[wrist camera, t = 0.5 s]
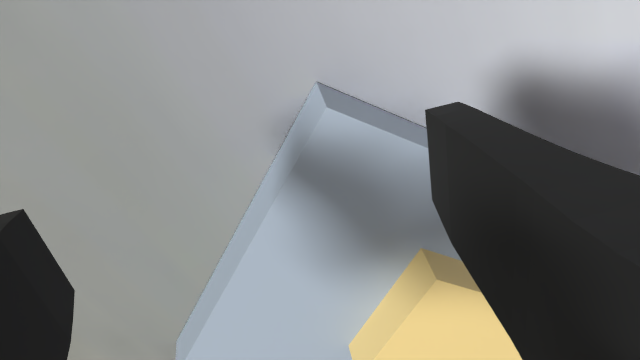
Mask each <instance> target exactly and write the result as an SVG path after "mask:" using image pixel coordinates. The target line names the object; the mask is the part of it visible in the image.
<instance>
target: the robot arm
mask: <svg viewBox="0 0 640 360" xmlns="http://www.w3.org/2000/svg"><path fill="white" fill-rule="evenodd" d="M425 113H426V126H427V139H428V153H429V166H430V180H431V193H432V201H433V203H434V206H435V208H436V210H437V212H438V215H439V217H440V219H441V222H442V224H443V226H444V228H445V231H446V233H447V235H448V237H449V239H450V241H451V244H452V245H453V247H454V249H455V250H456V252H457V254H458V255H459V257H460V258H461V260H462V262H463V263H464V265H465V267H466V268H467V270H468V271H469V273H470V275H471V276H472V278H473V280H474V281H475V283H476V284H477V286H478V288H479V289H480V291H481V292H482V294H483V296H484V297H485V299H486V300H487V302H488V304H489V305H490V307H491V308H492V310H493V312H494V313H495V315H496V316H497V318H498V320H499V321H500V323H501V324H502V326H503V328H504V329H505V331H506V332H507V334H508V336H509V337H510V339H511V340H512V342H513V344H514V346H515V348H516V349H517V351H518V353H519V355H520V356H521V358H522V360H640V176H639V175H636V174H633V173H630V172H627V171H624V170H621V169H618V168H615V167H612V166H609V165H607V164H604V163H601V162H598V161H596V160H593V159H590V158H588V157H585V156H582V155H580V154H577V153H575V152H572V151H570V150H567V149H565V148H562V147H560V146H557V145H555V144H553V143H550V142H548V141H546V140H543V139H541V138H539V137H537V136H534V135H532V134H530V133H527V132H525V131H523V130H521V129H519V128H516V127H514V126H512V125H510V124H508V123H506V122H503V121H501V120H499V119H497V118H495V117H493V116H491V115H488V114H486V113H484V112H482V111H480V110H477V109H475V108H473V107H471V106H468V105H466V104H463V103H460V102H455V103H451V104H447V105H443V106H439V107H435V108H431V109H427V110H425ZM74 291H75V290H74V289H73V287H72V286H71V284H70V282H69V281H68V279H67V278H66V276H65V275H64V273H63V271H62V270H61V268H60V267H59V265H58V263H57V262H56V260H55V259H54V257H53V255H52V254H51V252H50V251H49V249H48V248H47V246H46V244H45V243H44V241H43V240H42V238H41V236H40V235H39V233H38V232H37V230H36V228H35V227H34V225H33V224H32V222H31V221H30V219H29V217H28V216H27V214H26V213H25V211H24V209H22V210H17V211H13V212H9V213H5V214H1V215H0V360H67V357H68V352H69V347H70V342H71V333H72V323H73V309H74Z"/></svg>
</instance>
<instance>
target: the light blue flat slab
mask: <svg viewBox="0 0 640 360" xmlns="http://www.w3.org/2000/svg"><path fill="white" fill-rule="evenodd" d="M421 248H423V249H426V250H429V251H432V252H435V253H439V254H442V255H445V256H448V257H451V258H454V259H458V260H461V258H460V257H459V255H458V254H457V252H456V250H455V249H454V247H453V245H452V244H451V241H450V239H449V237H448V235H447V233H446V231H445V228H444V226H443V224H442V222H441V219H440V217H439V215H438V212H437V210H436V208H435V206H434V203H433V201H432V193H431V180H430V166H429V153H428V139H427V128H425V127H422V126H420V125H417V124H415V123H413V122H410V121H408V120H406V119H403V118H401V117H398V116H396V115H394V114H391V113H389V112H387V111H384V110H382V109H380V108H377V107H375V106H372V105H370V104H368V103H365V102H363V101H361V100H358V99H356V98H354V97H351V96H349V95H346V94H344V93H342V92H339V91H337V90H335V89H332V88H330V87H327V86H325V85H323V84H320V83H318V82H316V83H315V85H314V87H313V89H312V91H311V92H310V94H309V96H308V98H307V100H306V102H305V104H304V105H303V107H302V109H301V111H300V113H299V115H298V117H297V118H296V120H295V122H294V124H293V126H292V128H291V130H290V131H289V133H288V135H287V137H286V139H285V141H284V143H283V145H282V146H281V148H280V150H279V152H278V154H277V156H276V158H275V159H274V161H273V163H272V165H271V167H270V169H269V171H268V172H267V174H266V176H265V178H264V180H263V182H262V184H261V185H260V187H259V189H258V191H257V193H256V195H255V197H254V198H253V200H252V202H251V204H250V206H249V208H248V210H247V211H246V213H245V215H244V217H243V219H242V221H241V223H240V224H239V226H238V228H237V230H236V232H235V234H234V236H233V237H232V239H231V241H230V243H229V245H228V247H227V249H226V251H225V252H224V254H223V256H222V258H221V260H220V262H219V264H218V265H217V267H216V269H215V271H214V273H213V275H212V277H211V278H210V280H209V282H208V284H207V286H206V288H205V290H204V291H203V293H202V295H201V297H200V299H199V301H198V303H197V304H196V306H195V308H194V310H193V312H192V314H191V316H190V317H189V319H188V321H187V323H186V325H185V327H184V329H183V330H182V332H181V334H180V336H179V338H178V340H177V343H176V360H352V357H351V353H350V350H349V346H348V345H349V344H350V343H351V341H352V340H353V339H354V337H355V336H356V335H357V333H358V332H359V331H360V329H361V328H362V327H363V325H364V324H365V323H366V321H367V320H368V319H369V317H370V316H371V315H372V313H373V312H374V310H375V309H376V308H377V306H378V305H379V304H380V302H381V301H382V300H383V298H384V297H385V296H386V294H387V293H388V292H389V290H390V289H391V288H392V286H393V285H394V284H395V282H396V281H397V280H398V278H399V277H400V276H401V274H402V273H403V272H404V270H405V269H406V268H407V266H408V265H409V263H410V262H411V261H412V259H413V258H414V257H415V255H416V254H417V253H418V251H419V250H420V249H421ZM461 261H462V260H461Z"/></svg>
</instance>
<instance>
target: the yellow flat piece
mask: <svg viewBox="0 0 640 360" xmlns="http://www.w3.org/2000/svg"><path fill="white" fill-rule="evenodd" d="M348 346H349V350H350V353H351V357H352V360H522V358H521V356H520V355H519V353H518V351H517V349H516V348H515V346H514V344H513V342H512V340H511V339H510V337H509V336H508V334H507V332H506V331H505V329H504V328H503V326H502V324H501V323H500V321H499V320H498V318H497V316H496V315H495V313H494V312H493V310H492V308H491V307H490V305H489V304H488V302H487V300H486V299H485V297H484V296H483V294H482V292H481V291H480V289H479V288H478V286H477V284H476V283H475V281H474V280H473V278H472V276H471V275H470V273H469V271H468V270H467V268H466V267H465V265H464V263H463V262H462V261H461V260H458V259H454V258H451V257H448V256H445V255H442V254H439V253H435V252H432V251H429V250H426V249H423V248H421V249H420V250H419V251H418V253H417V254H416V255H415V257H414V258H413V259H412V261H411V262H410V263H409V265H408V266H407V268H406V269H405V270H404V272H403V273H402V274H401V276H400V277H399V278H398V280H397V281H396V282H395V284H394V285H393V286H392V288H391V289H390V290H389V292H388V293H387V294H386V296H385V297H384V298H383V300H382V301H381V302H380V304H379V305H378V306H377V308H376V309H375V310H374V312H373V313H372V315H371V316H370V317H369V319H368V320H367V321H366V323H365V324H364V325H363V327H362V328H361V329H360V331H359V332H358V333H357V335H356V336H355V337H354V339H353V340H352V341H351V343H350V344H349V345H348Z"/></svg>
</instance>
